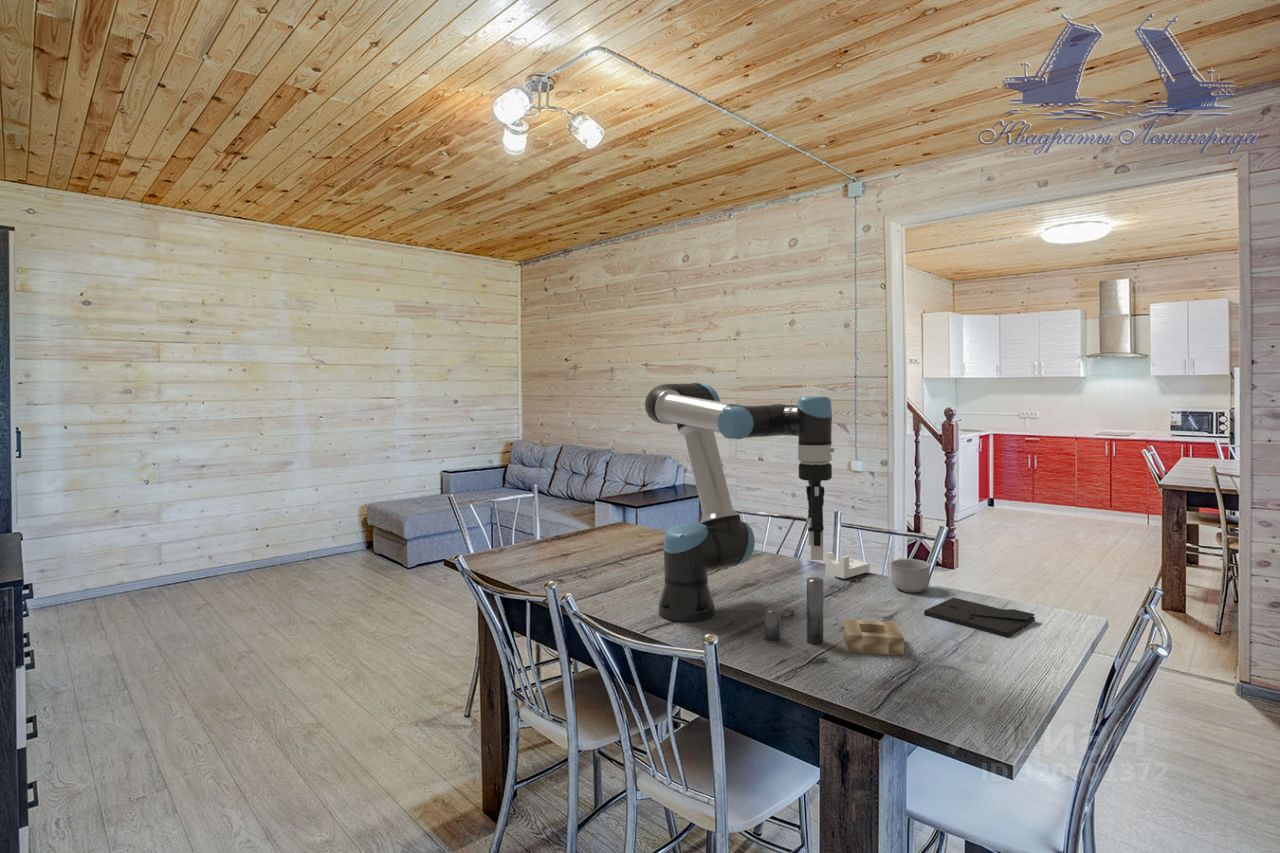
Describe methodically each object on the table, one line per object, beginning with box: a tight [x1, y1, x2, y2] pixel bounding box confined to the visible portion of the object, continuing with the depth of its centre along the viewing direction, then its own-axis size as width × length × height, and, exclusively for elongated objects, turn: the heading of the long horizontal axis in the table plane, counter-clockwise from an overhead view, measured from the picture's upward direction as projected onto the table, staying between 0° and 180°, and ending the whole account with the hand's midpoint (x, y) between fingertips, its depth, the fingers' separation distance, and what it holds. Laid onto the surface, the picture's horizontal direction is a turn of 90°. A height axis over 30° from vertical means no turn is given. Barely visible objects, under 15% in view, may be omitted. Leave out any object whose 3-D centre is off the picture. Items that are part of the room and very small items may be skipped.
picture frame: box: [923, 597, 1036, 639], centre depth 170 cm, size 16×3×21 cm
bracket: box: [824, 551, 871, 579], centre depth 211 cm, size 13×7×8 cm, turn 125°
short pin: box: [763, 607, 781, 642], centre depth 159 cm, size 4×4×7 cm
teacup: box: [889, 557, 931, 594], centre depth 196 cm, size 14×11×8 cm
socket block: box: [843, 619, 905, 656], centre depth 154 cm, size 12×10×4 cm
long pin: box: [806, 576, 824, 646], centre depth 156 cm, size 4×4×15 cm
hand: (815, 552), depth 155 cm, fingers open, 13 cm apart
